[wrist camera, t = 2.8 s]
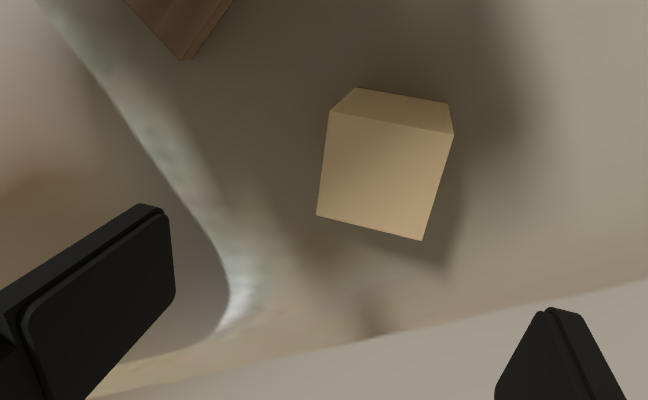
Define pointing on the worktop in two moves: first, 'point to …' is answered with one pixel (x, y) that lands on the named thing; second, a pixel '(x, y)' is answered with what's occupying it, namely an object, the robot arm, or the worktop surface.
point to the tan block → (384, 161)
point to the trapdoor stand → (180, 21)
